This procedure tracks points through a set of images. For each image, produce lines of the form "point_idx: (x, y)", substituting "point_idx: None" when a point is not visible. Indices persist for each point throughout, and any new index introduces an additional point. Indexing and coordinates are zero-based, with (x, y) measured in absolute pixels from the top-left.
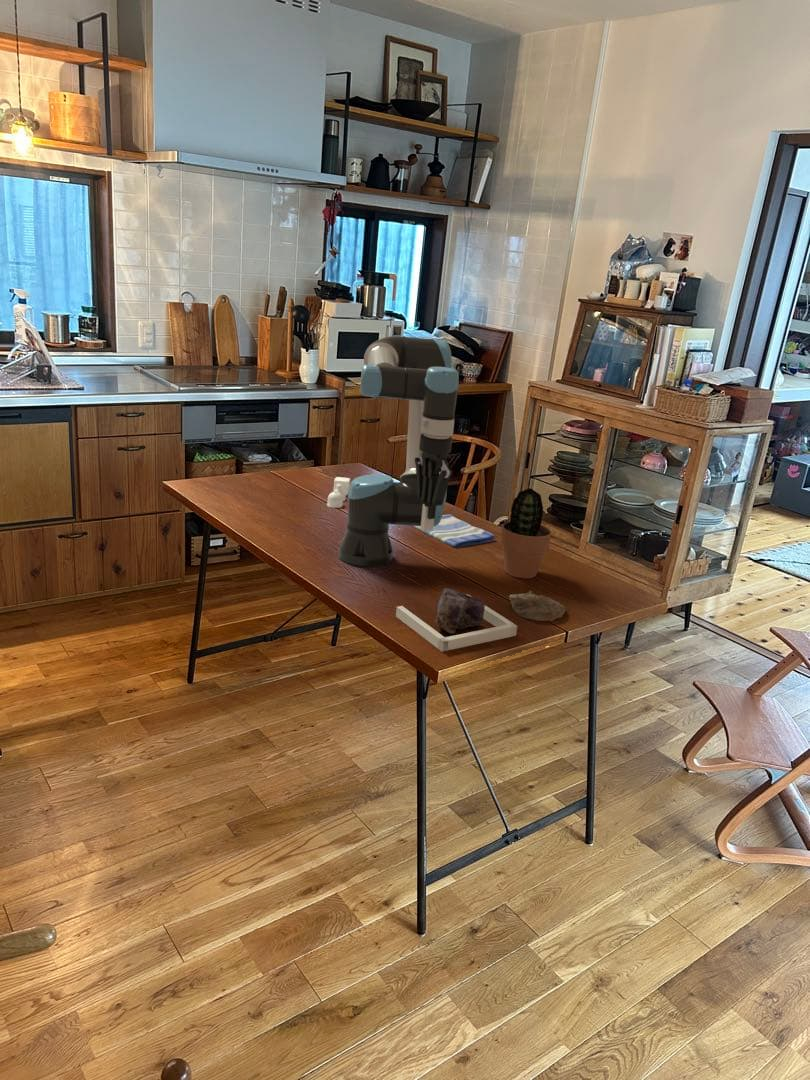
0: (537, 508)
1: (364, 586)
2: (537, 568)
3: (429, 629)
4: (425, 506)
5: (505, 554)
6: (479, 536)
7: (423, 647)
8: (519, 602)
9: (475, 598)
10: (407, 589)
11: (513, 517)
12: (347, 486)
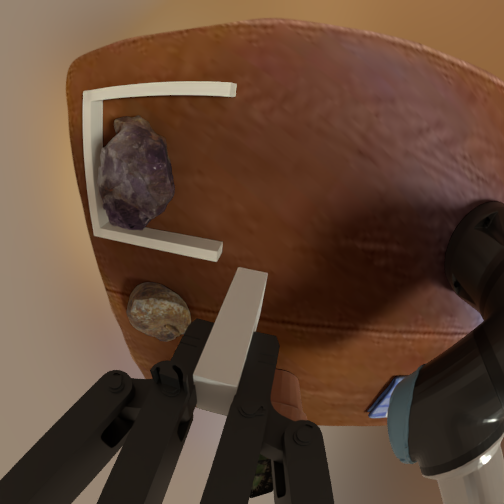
0: None
1: (404, 135)
2: None
3: (119, 90)
4: (174, 362)
5: (285, 393)
6: (382, 407)
7: (115, 68)
8: (148, 296)
9: (122, 219)
10: (339, 202)
11: None
12: None
